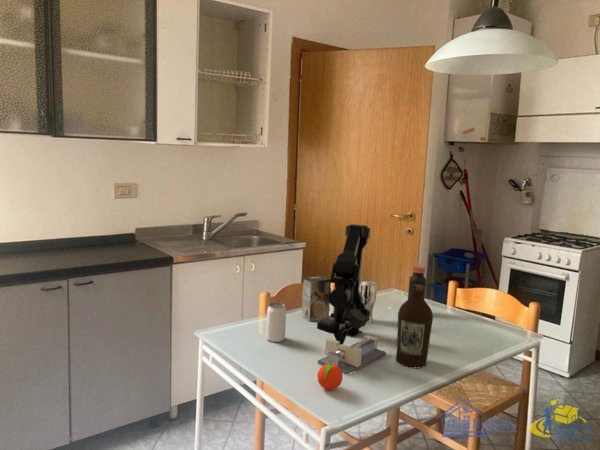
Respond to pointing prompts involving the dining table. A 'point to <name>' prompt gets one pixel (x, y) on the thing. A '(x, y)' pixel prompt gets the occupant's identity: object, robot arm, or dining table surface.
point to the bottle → (417, 279)
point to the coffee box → (315, 298)
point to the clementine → (329, 376)
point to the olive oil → (414, 330)
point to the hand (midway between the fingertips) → (340, 346)
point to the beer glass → (368, 296)
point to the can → (276, 322)
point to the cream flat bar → (351, 352)
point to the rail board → (366, 358)
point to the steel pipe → (367, 343)
